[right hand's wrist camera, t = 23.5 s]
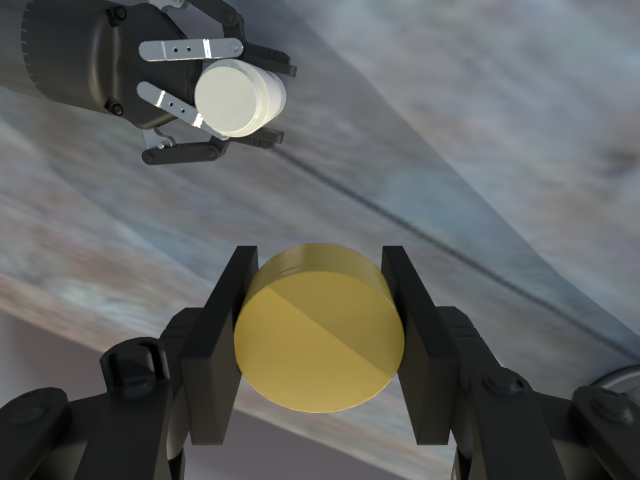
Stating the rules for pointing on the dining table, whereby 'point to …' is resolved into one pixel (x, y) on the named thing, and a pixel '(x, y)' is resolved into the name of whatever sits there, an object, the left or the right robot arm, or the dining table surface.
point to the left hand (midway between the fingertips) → (287, 105)
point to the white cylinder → (238, 97)
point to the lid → (319, 330)
